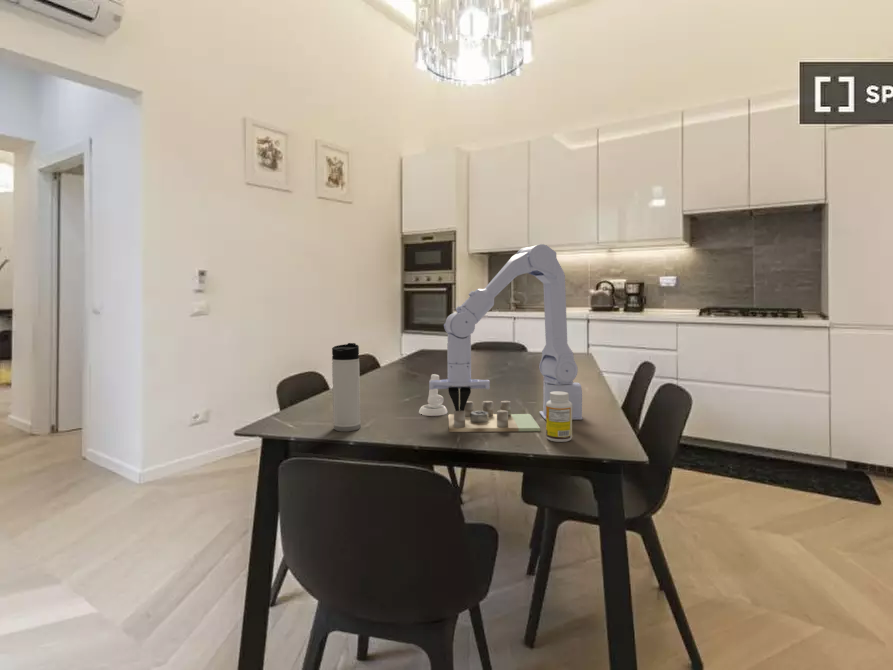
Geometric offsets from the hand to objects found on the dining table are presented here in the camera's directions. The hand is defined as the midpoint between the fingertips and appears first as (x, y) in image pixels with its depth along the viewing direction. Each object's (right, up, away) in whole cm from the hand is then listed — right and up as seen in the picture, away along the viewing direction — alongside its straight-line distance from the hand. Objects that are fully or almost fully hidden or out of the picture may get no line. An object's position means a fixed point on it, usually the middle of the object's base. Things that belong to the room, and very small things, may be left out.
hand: (459, 418), depth 128 cm
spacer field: (+5, -1, 0) cm, 6 cm away
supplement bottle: (+21, -3, -13) cm, 25 cm away
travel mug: (-27, -2, -3) cm, 27 cm away
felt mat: (+16, -1, 0) cm, 16 cm away
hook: (-7, -1, +13) cm, 15 cm away
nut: (+5, -1, 0) cm, 5 cm away
